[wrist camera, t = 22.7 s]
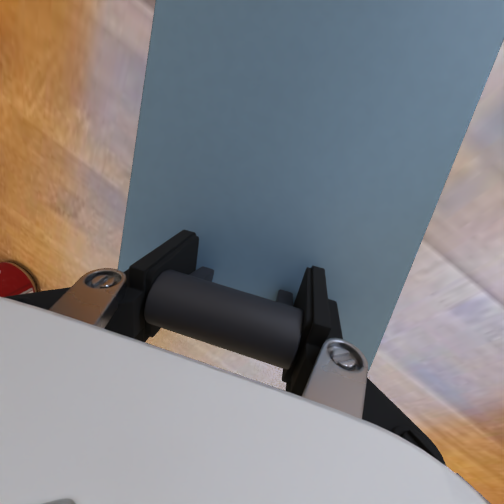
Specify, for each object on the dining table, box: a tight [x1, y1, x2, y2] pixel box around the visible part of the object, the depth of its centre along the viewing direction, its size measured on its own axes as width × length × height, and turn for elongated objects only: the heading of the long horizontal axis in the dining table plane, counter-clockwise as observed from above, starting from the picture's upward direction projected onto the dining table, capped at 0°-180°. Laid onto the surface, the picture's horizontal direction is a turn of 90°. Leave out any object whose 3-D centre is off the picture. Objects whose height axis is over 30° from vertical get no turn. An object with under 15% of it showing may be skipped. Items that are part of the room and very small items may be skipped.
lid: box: [118, 0, 504, 371], centre depth 9 cm, size 17×14×5 cm
